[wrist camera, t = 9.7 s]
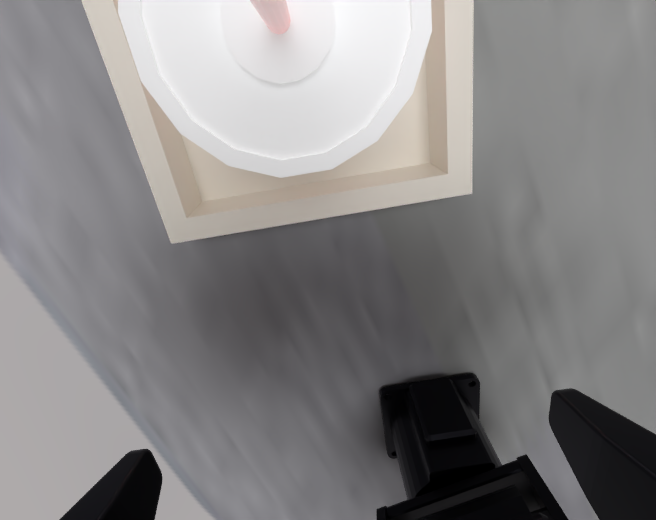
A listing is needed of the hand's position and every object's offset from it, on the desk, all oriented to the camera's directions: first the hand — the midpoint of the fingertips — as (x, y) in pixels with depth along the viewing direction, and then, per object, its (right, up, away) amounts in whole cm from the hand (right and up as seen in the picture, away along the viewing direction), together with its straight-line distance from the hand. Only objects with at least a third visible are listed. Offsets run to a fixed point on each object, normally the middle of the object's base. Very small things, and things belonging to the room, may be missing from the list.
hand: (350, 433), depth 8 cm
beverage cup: (-2, +12, +7) cm, 14 cm away
